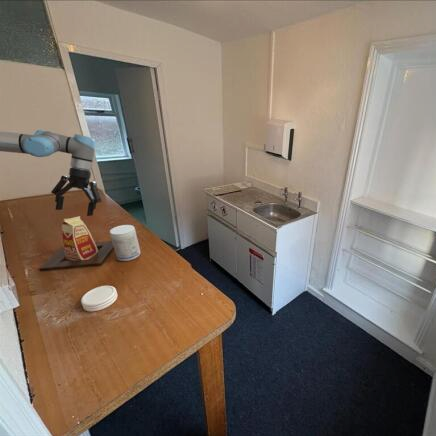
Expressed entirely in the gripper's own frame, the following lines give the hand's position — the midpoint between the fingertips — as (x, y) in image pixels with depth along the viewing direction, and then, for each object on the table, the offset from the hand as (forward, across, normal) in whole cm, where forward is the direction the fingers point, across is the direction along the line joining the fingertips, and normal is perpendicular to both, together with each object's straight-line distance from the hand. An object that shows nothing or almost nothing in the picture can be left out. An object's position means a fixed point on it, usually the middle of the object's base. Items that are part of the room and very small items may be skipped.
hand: (74, 212), depth 111 cm
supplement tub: (+15, -30, +5) cm, 34 cm away
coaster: (+23, -37, +33) cm, 55 cm away
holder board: (+18, -10, +5) cm, 21 cm away
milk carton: (+18, -10, +5) cm, 21 cm away
